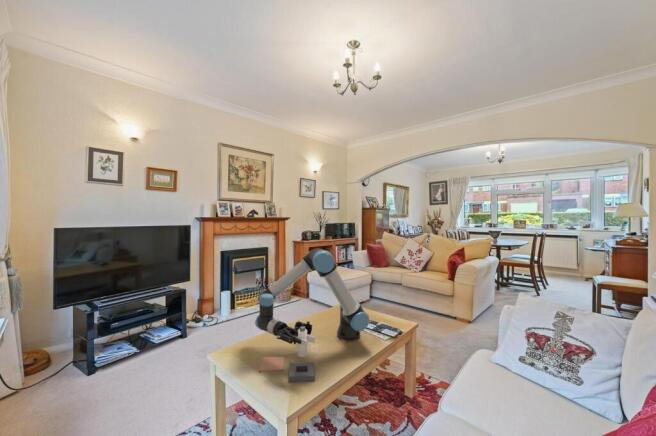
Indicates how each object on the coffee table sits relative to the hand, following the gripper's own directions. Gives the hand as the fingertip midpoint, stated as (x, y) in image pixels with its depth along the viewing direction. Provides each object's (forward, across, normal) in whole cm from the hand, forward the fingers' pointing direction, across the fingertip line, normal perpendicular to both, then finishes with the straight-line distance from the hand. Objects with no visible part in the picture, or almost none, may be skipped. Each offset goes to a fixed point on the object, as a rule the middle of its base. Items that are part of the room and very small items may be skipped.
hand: (310, 341), depth 131 cm
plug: (-5, 0, -8) cm, 10 cm away
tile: (-23, +4, -18) cm, 29 cm away
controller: (-35, -32, -18) cm, 50 cm away
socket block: (-5, 0, -18) cm, 19 cm away
